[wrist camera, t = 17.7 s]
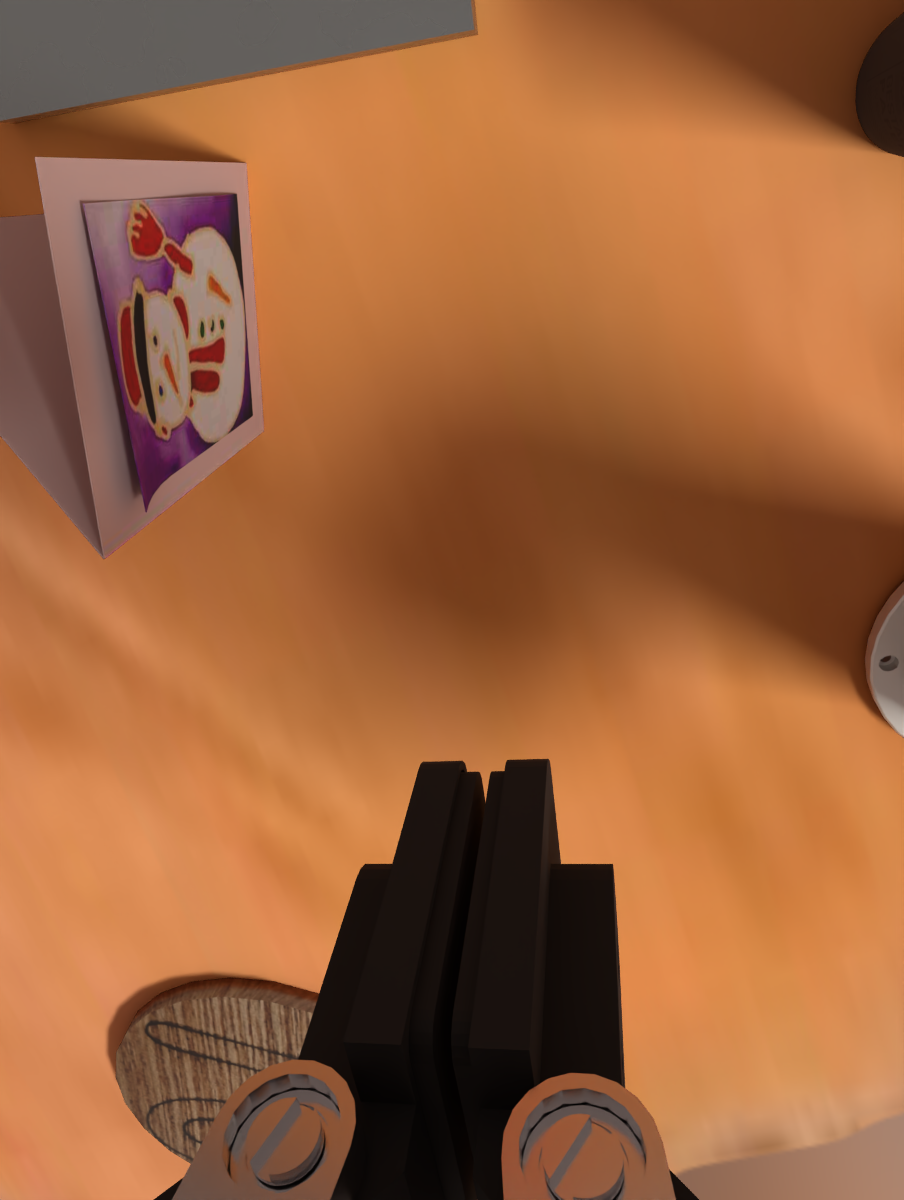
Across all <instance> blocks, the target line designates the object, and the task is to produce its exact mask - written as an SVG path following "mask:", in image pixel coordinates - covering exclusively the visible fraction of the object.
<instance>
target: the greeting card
mask: <svg viewBox="0 0 904 1200" xmlns="http://www.w3.org/2000/svg"><path fill="white" fill-rule="evenodd" d="M35 162H36V168H37V174H38V180H39V185H40V191H41V197H42V203H43V209H44V214H38V215H25V216H12V217H0V436H1V437H2V438H3V440H4V441H5V442H6V443H7V444H8V445H9V447H10V448H11V449H12V450H13V451H14V453H15V454H16V455H17V456H18V457H19V459H20V460H21V461H22V462H23V463H24V465H25V466H26V467H27V468H28V469H29V471H30V472H31V473H32V474H33V475H34V477H35V478H36V479H37V480H38V481H39V483H40V484H41V485H42V486H43V487H44V489H45V490H46V491H47V492H48V493H49V495H50V496H51V497H52V498H53V499H54V501H55V502H56V503H57V504H58V505H59V506H60V508H61V509H62V510H63V511H64V512H65V514H66V515H67V516H68V517H69V518H70V520H71V521H72V522H73V523H74V524H75V526H76V527H77V528H78V529H79V530H80V532H81V533H82V534H83V535H84V536H85V538H86V539H87V540H88V541H89V542H90V544H91V545H92V546H93V547H94V548H95V550H96V551H97V552H98V553H99V554H100V556H101V557H102V558H103V559H106V558H107V557H108V556H109V555H111V554H112V553H113V552H114V551H116V550H117V549H118V548H119V547H120V546H122V545H123V544H124V543H125V542H127V541H128V540H129V539H130V538H132V537H133V536H134V535H135V534H137V533H138V532H139V531H140V530H142V529H143V528H144V527H145V526H147V525H148V524H149V523H150V522H152V521H153V520H154V519H155V518H157V517H158V516H159V515H160V514H161V513H163V512H164V511H165V510H166V509H168V508H169V507H170V506H171V505H173V504H174V503H175V502H176V501H178V500H179V499H180V498H181V497H183V496H184V495H185V494H186V493H188V492H189V491H190V490H191V489H193V488H194V487H195V486H196V485H198V484H199V483H200V482H201V481H202V480H204V479H205V478H206V477H207V476H209V475H210V474H211V473H212V472H214V471H215V470H216V469H217V468H219V467H220V466H221V465H222V464H224V463H225V462H226V461H227V460H229V459H230V458H231V457H232V456H234V455H235V454H236V453H237V452H239V451H240V450H241V449H242V448H243V447H245V446H246V445H247V444H248V443H250V442H251V441H252V440H253V439H255V438H256V437H257V436H258V435H260V434H261V433H262V432H263V431H264V420H263V405H262V390H261V375H260V360H259V345H258V330H257V315H256V300H255V285H254V270H253V255H252V240H251V225H250V210H249V195H248V180H247V165H246V163H231V162H196V161H162V160H127V159H92V158H58V157H35Z"/></svg>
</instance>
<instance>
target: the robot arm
mask: <svg viewBox="0 0 904 1200" xmlns="http://www.w3.org/2000/svg"><path fill="white" fill-rule="evenodd" d="M865 667H866V679H867V683H868V686H869V688H870V691H871V694H872V697H873V700H874V701H875V703H876V705H877V706H878V708H879V710H880V712H881V714H882V716H883V717H884V718H885V720H886V721H887V722H888V723H889V724H890V725H891V727H892V728H893V729H894V730H895V731H896V733H898V734H899V735H900V736H902V737H903V738H904V582H903V583H902V584H901V585H900V586H899V587H898V588H897V589H896V590H895V591H894V592H893V593H892V595H891V596H890V597H889V599H888V600H887V602H886V603H885V605H884V606H883V608H882V609H881V611H880V613H879V614H878V616H877V617H876V620H875V622H874V625H873V628H872V630H871V633H870V635H869V638H868V643H867V649H866V656H865ZM154 1200H699V1199H698V1198H697V1197H696V1196H695V1195H694V1194H693V1193H692V1192H691V1191H690V1190H689V1189H688V1188H687V1187H686V1186H685V1185H684V1184H683V1183H682V1182H681V1181H680V1180H679V1179H678V1178H677V1177H676V1176H675V1175H674V1174H673V1173H672V1172H671V1171H670V1170H669V1167H668V1163H667V1159H666V1154H665V1150H664V1146H663V1142H662V1139H661V1137H660V1134H659V1132H658V1129H657V1126H656V1124H655V1121H654V1119H653V1117H652V1116H651V1114H650V1113H649V1112H648V1111H647V1109H646V1108H645V1107H644V1105H643V1104H642V1103H641V1101H640V1100H639V1099H638V1098H637V1097H636V1096H635V1095H633V1094H632V1093H631V1092H629V1091H628V1090H627V1089H625V1075H624V1053H623V1031H622V1008H621V986H620V965H619V946H618V928H617V912H616V897H615V883H614V869H613V864H561V859H560V850H559V841H558V831H557V822H556V813H555V803H554V794H553V785H552V775H551V767H550V761H549V759H527V760H507V762H506V766H505V771H492V772H491V774H490V779H489V785H488V791H487V798H486V803H485V797H484V790H483V784H482V778H481V774H480V772H467V769H466V765H465V763H464V762H463V761H440V762H422V763H421V765H420V767H419V770H418V774H417V777H416V781H415V784H414V788H413V792H412V795H411V799H410V803H409V806H408V810H407V813H406V817H405V821H404V824H403V828H402V831H401V835H400V839H399V842H398V846H397V849H396V853H395V857H394V860H393V864H365V865H364V866H363V867H362V868H361V869H360V871H359V874H358V876H357V878H356V881H355V885H354V888H353V891H352V894H351V897H350V900H349V903H348V906H347V909H346V912H345V916H344V919H343V922H342V925H341V928H340V931H339V934H338V937H337V940H336V943H335V947H334V950H333V953H332V956H331V959H330V962H329V965H328V968H327V971H326V974H325V978H324V981H323V984H322V987H321V990H320V993H319V996H318V999H317V1002H316V1005H315V1009H314V1012H313V1015H312V1018H311V1021H310V1024H309V1027H308V1030H307V1033H306V1036H305V1040H304V1043H303V1046H302V1049H301V1052H300V1055H299V1058H298V1060H290V1061H286V1062H282V1063H278V1064H274V1065H271V1066H269V1067H267V1068H266V1069H264V1070H262V1071H260V1072H258V1073H257V1074H255V1075H253V1076H251V1077H250V1078H249V1079H248V1080H246V1081H245V1082H244V1083H243V1084H242V1085H241V1086H240V1087H239V1088H238V1089H237V1090H235V1091H234V1092H233V1093H232V1094H231V1096H230V1097H229V1098H228V1100H227V1101H226V1103H225V1104H224V1106H223V1107H222V1109H221V1110H220V1111H219V1113H218V1114H217V1116H216V1118H215V1120H214V1122H213V1124H212V1125H211V1127H210V1129H209V1131H208V1133H207V1135H206V1137H205V1139H204V1140H203V1142H202V1144H201V1146H200V1148H199V1150H198V1152H197V1154H196V1155H195V1157H194V1159H193V1161H192V1163H191V1165H190V1167H189V1169H188V1170H187V1172H186V1174H185V1176H184V1178H182V1179H181V1180H180V1181H178V1182H177V1183H176V1184H174V1185H173V1186H171V1187H170V1188H169V1189H167V1190H166V1191H165V1192H163V1193H162V1194H161V1195H159V1196H158V1197H157V1198H155V1199H154Z"/></svg>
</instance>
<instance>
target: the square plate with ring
mask: <svg viewBox="0 0 904 1200" xmlns="http://www.w3.org/2000/svg"><path fill="white" fill-rule="evenodd" d="M473 35H478V31H477V21H476V12H475V2H474V0H0V122H3V123H17V122H23V121H28V120H33V119H38V118H44V117H49V116H54V115H59V114H64V113H70V112H75V111H80V110H85V109H91V108H96V107H101V106H106V105H112V104H117V103H122V102H127V101H133V100H138V99H143V98H148V97H153V96H159V95H164V94H169V93H174V92H180V91H185V90H190V89H195V88H201V87H206V86H211V85H216V84H222V83H227V82H232V81H237V80H242V79H248V78H253V77H258V76H263V75H269V74H274V73H279V72H284V71H290V70H295V69H300V68H305V67H311V66H316V65H321V64H326V63H331V62H337V61H342V60H347V59H352V58H358V57H363V56H368V55H373V54H379V53H384V52H389V51H394V50H400V49H405V48H410V47H415V46H421V45H426V44H431V43H436V42H441V41H447V40H452V39H457V38H462V37H468V36H473Z"/></svg>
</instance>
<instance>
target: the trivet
mask: <svg viewBox="0 0 904 1200" xmlns="http://www.w3.org/2000/svg"><path fill="white" fill-rule="evenodd" d="M318 996H319V994H318V993H315V992H311V991H307V990H304V989H300V988H296V987H292V986H289V985H285V984H281V983H278V982H274V981H263V980H252V979H241V978H222V979H212V980H203V981H194V982H189V983H187V984H184V985H181V986H179V987H176V988H173V989H170V990H168V991H165V992H162V993H160V994H159V995H157V996H156V997H155V998H154V999H152V1000H151V1001H150V1002H149V1003H147V1004H146V1005H145V1006H144V1007H142V1008H141V1009H140V1010H139V1011H138V1012H137V1014H136V1016H135V1018H134V1019H133V1021H132V1023H131V1025H130V1027H129V1029H128V1031H127V1033H126V1035H125V1037H124V1039H123V1041H122V1042H121V1044H120V1046H119V1048H118V1050H117V1052H116V1079H117V1082H118V1085H119V1087H120V1090H121V1093H122V1095H123V1098H124V1101H125V1103H126V1105H127V1106H128V1107H129V1109H130V1110H131V1111H132V1113H133V1114H134V1115H135V1117H136V1118H137V1119H138V1121H139V1122H140V1123H141V1125H142V1126H143V1127H144V1129H146V1130H147V1131H148V1132H149V1133H150V1134H151V1135H152V1136H154V1137H155V1138H156V1139H157V1140H158V1141H159V1142H160V1143H162V1144H163V1145H164V1146H165V1147H166V1148H167V1149H168V1150H170V1151H171V1152H173V1153H174V1154H176V1155H178V1156H179V1157H181V1158H182V1159H184V1160H186V1161H187V1162H189V1163H192V1161H193V1159H194V1157H195V1155H196V1154H197V1152H198V1150H199V1148H200V1146H201V1144H202V1142H203V1140H204V1139H205V1137H206V1135H207V1133H208V1131H209V1129H210V1127H211V1125H212V1124H213V1122H214V1120H215V1118H216V1116H217V1114H218V1113H219V1111H220V1110H221V1109H222V1107H223V1106H224V1104H225V1103H226V1101H227V1100H228V1098H229V1097H230V1096H231V1094H232V1093H233V1092H234V1091H235V1090H237V1089H238V1088H239V1087H240V1086H241V1085H242V1084H243V1083H244V1082H245V1081H246V1080H248V1079H249V1078H250V1077H251V1076H253V1075H255V1074H257V1073H258V1072H260V1071H262V1070H264V1069H266V1068H267V1067H269V1066H271V1065H274V1064H278V1063H282V1062H286V1061H290V1060H298V1058H299V1055H300V1052H301V1049H302V1046H303V1043H304V1040H305V1036H306V1033H307V1030H308V1027H309V1024H310V1021H311V1018H312V1015H313V1012H314V1009H315V1005H316V1002H317V999H318Z"/></svg>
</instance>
